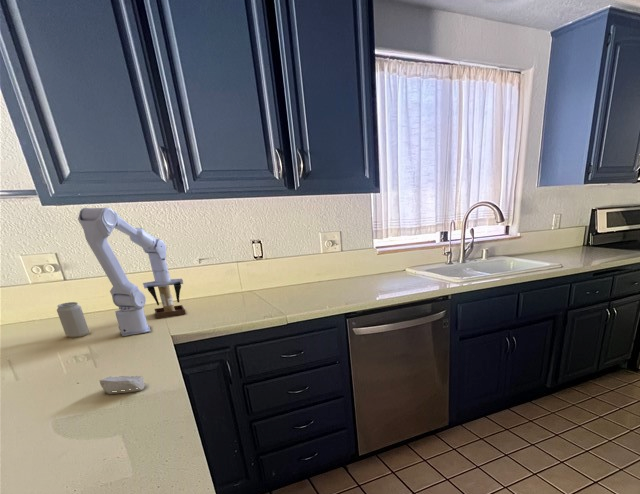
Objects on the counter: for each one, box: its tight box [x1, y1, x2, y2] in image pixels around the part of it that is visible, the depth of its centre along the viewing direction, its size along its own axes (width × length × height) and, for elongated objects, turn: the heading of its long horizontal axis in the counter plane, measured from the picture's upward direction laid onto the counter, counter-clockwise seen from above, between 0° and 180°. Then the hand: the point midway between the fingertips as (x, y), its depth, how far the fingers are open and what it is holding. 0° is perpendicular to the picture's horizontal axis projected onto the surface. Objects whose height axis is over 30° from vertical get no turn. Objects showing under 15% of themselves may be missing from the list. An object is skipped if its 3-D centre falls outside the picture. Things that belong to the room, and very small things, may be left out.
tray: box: [154, 304, 186, 319], centre depth 184 cm, size 11×9×2 cm
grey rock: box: [99, 375, 146, 395], centre depth 115 cm, size 10×6×6 cm, turn 91°
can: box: [56, 301, 90, 339], centre depth 158 cm, size 8×8×12 cm
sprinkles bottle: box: [157, 284, 175, 312], centre depth 181 cm, size 5×5×13 cm
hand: (168, 303), depth 177 cm, fingers open, 7 cm apart
